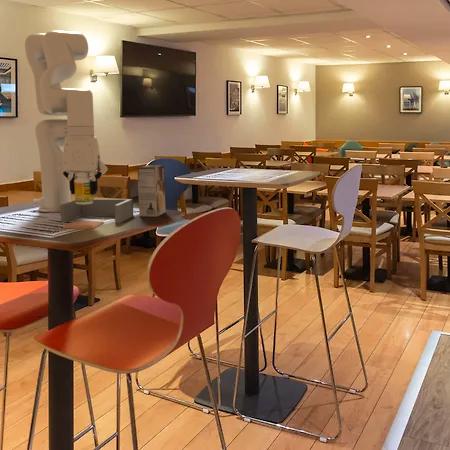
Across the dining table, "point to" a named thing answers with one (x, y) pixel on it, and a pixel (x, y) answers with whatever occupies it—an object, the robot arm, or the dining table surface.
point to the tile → (84, 224)
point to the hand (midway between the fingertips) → (83, 193)
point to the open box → (98, 209)
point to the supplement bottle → (83, 188)
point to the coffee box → (151, 190)
